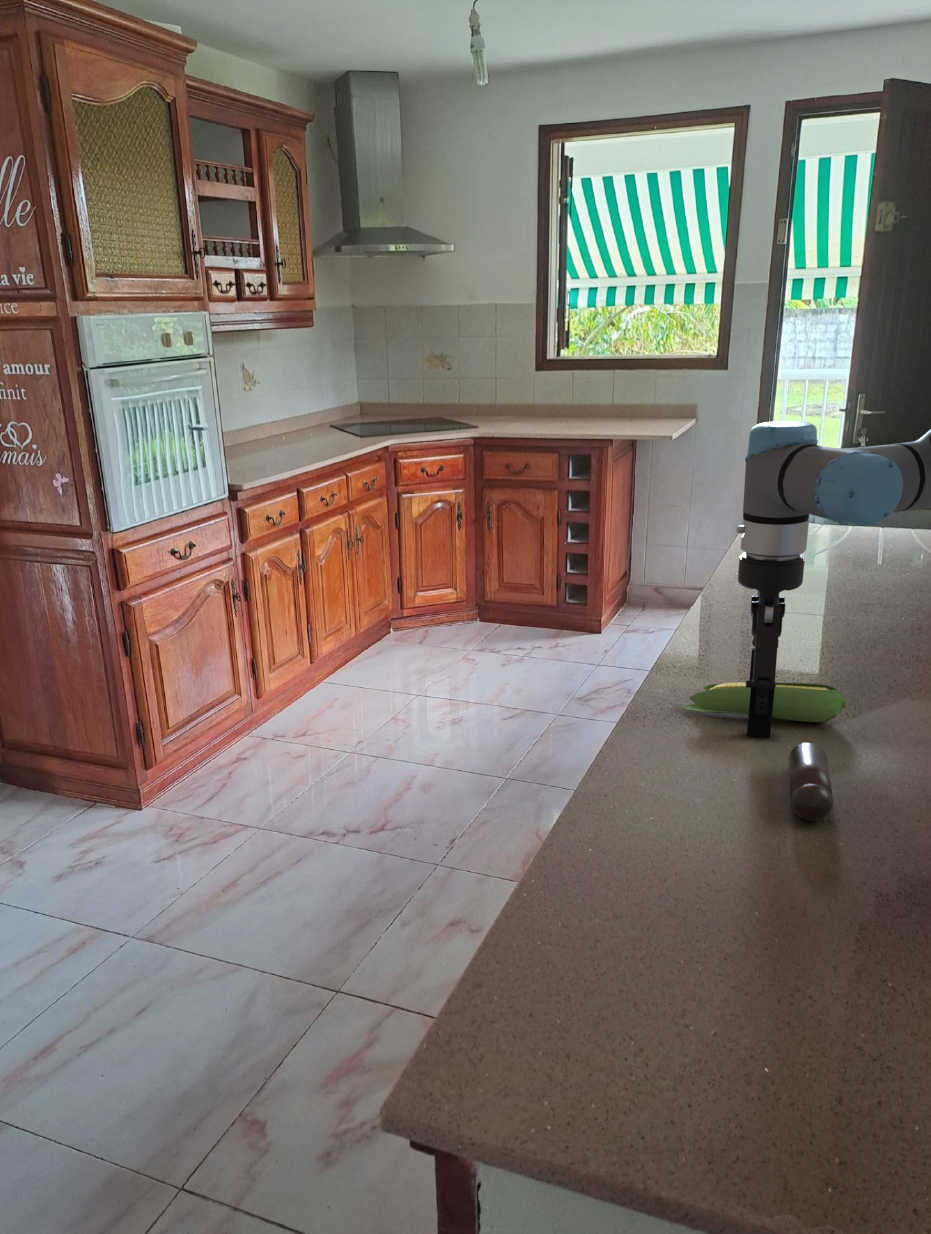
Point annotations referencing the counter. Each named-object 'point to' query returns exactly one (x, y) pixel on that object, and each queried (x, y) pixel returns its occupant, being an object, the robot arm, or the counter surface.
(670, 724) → the counter surface
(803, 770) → the dark brown capsule
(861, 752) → the counter surface
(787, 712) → the edible corn
